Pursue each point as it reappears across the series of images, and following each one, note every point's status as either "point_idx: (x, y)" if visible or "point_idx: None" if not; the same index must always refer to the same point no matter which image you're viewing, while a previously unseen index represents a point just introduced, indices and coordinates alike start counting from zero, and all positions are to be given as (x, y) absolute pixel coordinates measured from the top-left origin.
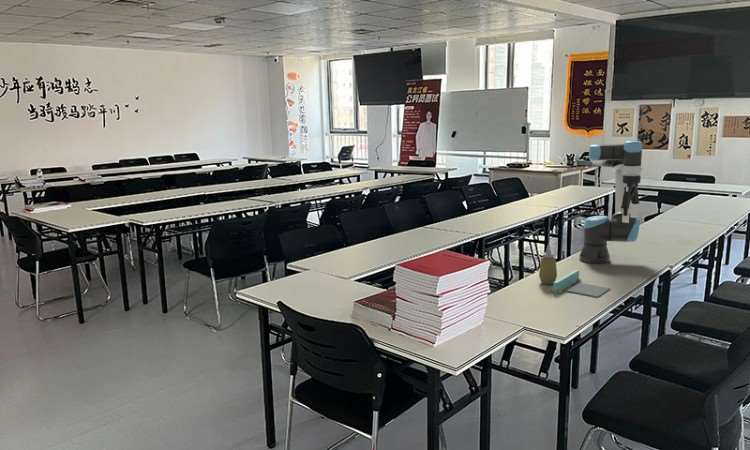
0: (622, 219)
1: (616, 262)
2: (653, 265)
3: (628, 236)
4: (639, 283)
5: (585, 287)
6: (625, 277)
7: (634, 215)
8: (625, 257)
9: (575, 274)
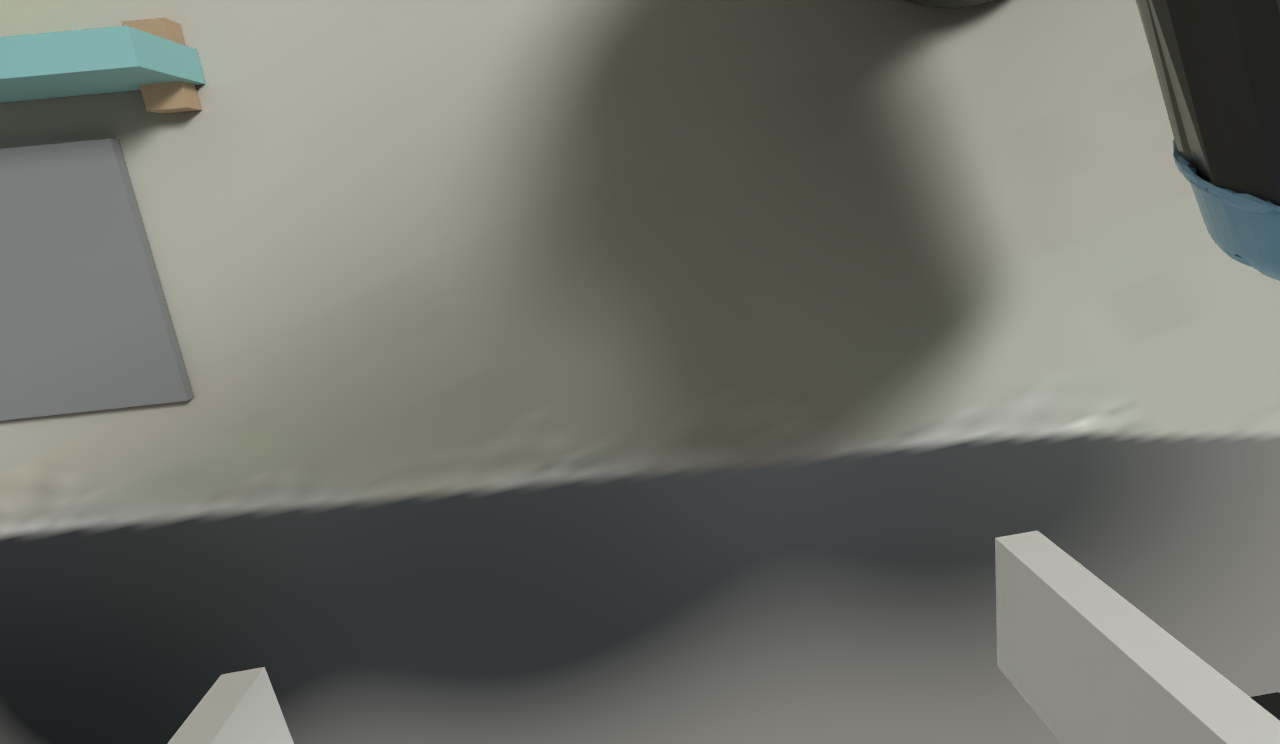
0: (177, 741)
1: (983, 74)
2: (1040, 364)
3: (1196, 177)
4: (493, 485)
5: (37, 250)
6: (571, 346)
7: (1035, 669)
8: None
9: (59, 79)
